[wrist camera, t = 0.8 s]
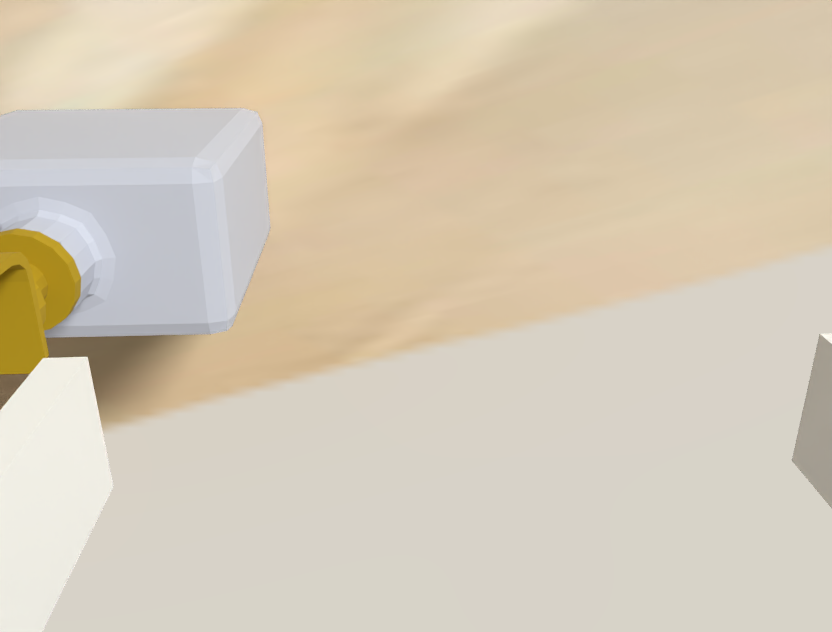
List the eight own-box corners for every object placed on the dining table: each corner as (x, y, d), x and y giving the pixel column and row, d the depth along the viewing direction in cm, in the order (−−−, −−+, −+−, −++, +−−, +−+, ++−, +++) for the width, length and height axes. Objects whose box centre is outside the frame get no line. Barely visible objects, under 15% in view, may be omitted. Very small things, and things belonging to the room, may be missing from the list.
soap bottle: (33, 240, 41) (-347, 539, 19) (6, 107, 38) (-469, 281, 17) (273, 235, 41) (165, 522, 20) (263, 104, 39) (125, 271, 17)
